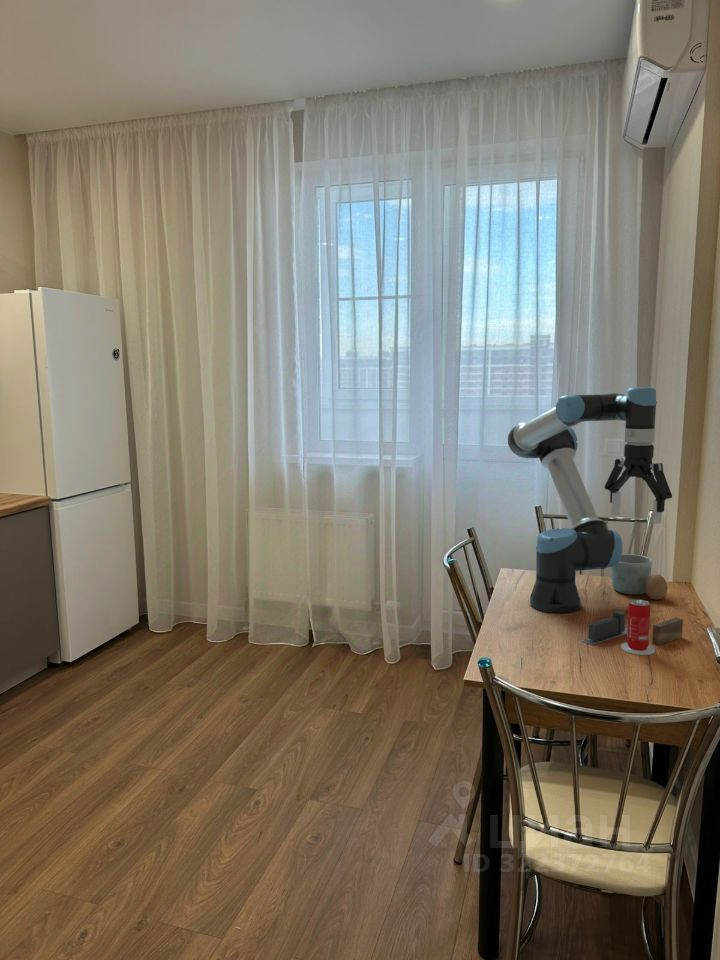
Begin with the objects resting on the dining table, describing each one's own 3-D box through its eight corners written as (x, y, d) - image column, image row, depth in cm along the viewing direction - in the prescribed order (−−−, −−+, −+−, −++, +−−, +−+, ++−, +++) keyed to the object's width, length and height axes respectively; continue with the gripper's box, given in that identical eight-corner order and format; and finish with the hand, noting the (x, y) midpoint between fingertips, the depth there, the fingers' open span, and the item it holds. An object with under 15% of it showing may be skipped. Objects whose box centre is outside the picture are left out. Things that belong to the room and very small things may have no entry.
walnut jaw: (652, 643, 174) (652, 624, 173) (675, 635, 179) (675, 617, 179) (659, 645, 172) (659, 627, 172) (682, 637, 178) (682, 619, 177)
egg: (671, 600, 208) (672, 575, 207) (657, 603, 205) (658, 577, 204) (654, 595, 214) (655, 570, 213) (640, 598, 211) (641, 572, 210)
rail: (581, 641, 176) (581, 640, 176) (641, 622, 189) (641, 621, 189) (591, 645, 173) (591, 644, 173) (651, 625, 186) (651, 624, 186)
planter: (603, 586, 224) (604, 555, 222) (638, 584, 225) (639, 553, 224) (621, 597, 212) (622, 564, 210) (658, 595, 213) (659, 562, 211)
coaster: (614, 647, 172) (614, 646, 171) (634, 641, 176) (634, 639, 176) (642, 657, 165) (642, 656, 165) (661, 650, 169) (662, 649, 169)
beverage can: (629, 650, 168) (630, 605, 167) (624, 643, 173) (626, 598, 172) (650, 651, 167) (652, 606, 166) (646, 644, 172) (647, 599, 171)
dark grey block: (587, 637, 177) (587, 619, 176) (616, 628, 183) (617, 610, 182) (595, 640, 175) (596, 621, 174) (624, 631, 181) (625, 613, 180)
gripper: (593, 441, 192) (590, 513, 195) (670, 448, 171) (666, 529, 174) (611, 439, 196) (608, 510, 199) (689, 446, 174) (684, 525, 178)
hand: (635, 519), depth 187 cm, fingers open, 13 cm apart
